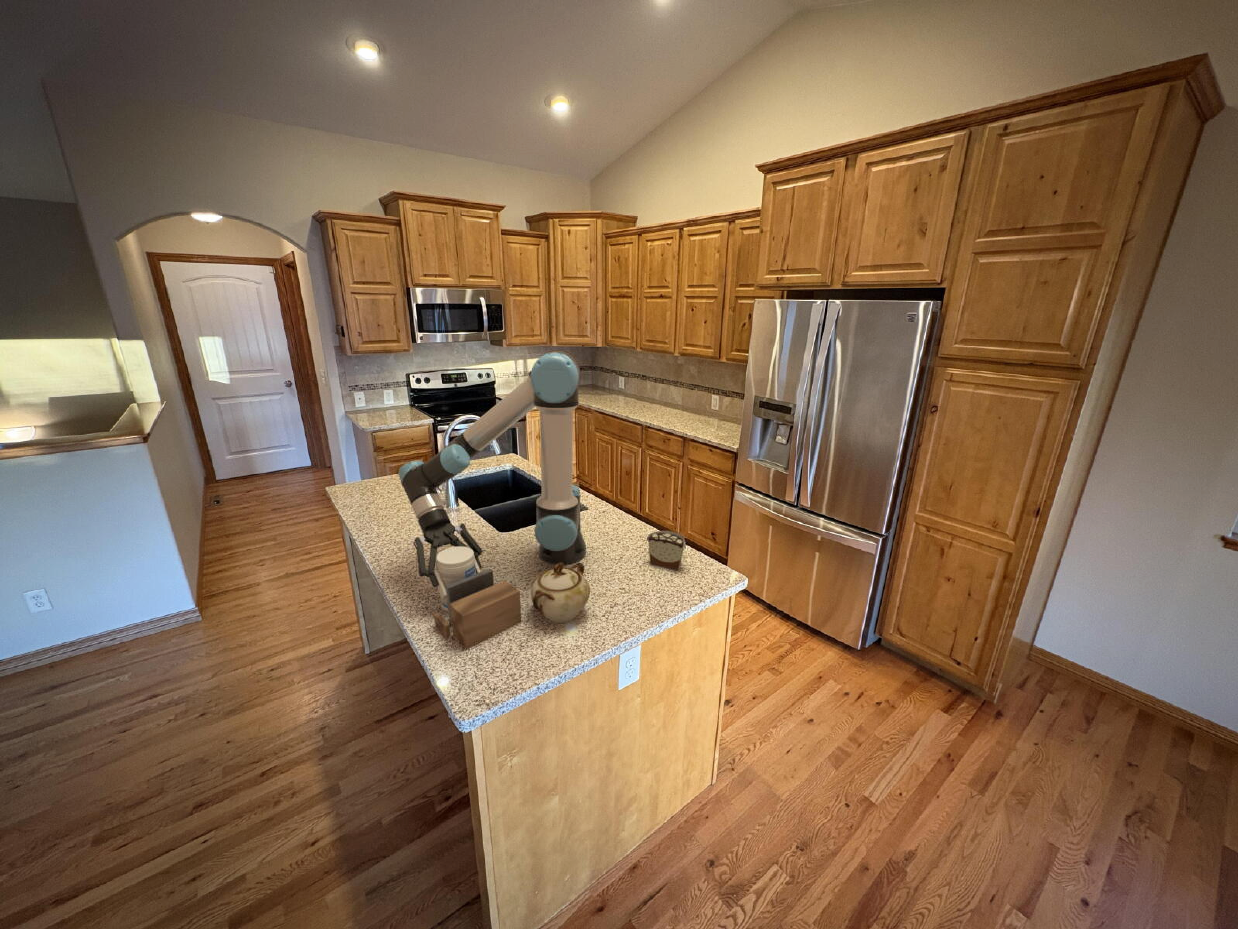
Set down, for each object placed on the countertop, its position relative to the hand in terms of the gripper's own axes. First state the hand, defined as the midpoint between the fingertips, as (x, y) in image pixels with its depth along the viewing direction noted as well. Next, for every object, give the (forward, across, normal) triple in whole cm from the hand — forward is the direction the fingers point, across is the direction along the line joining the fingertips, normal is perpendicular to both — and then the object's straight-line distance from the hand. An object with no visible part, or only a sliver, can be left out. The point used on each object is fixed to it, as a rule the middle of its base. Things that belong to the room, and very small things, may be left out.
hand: (463, 589), depth 125 cm
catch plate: (+6, 0, -1) cm, 6 cm away
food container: (+19, -57, +10) cm, 61 cm away
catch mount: (+10, 0, +2) cm, 10 cm away
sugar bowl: (+17, -17, +9) cm, 26 cm away
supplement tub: (+2, 0, -7) cm, 7 cm away
